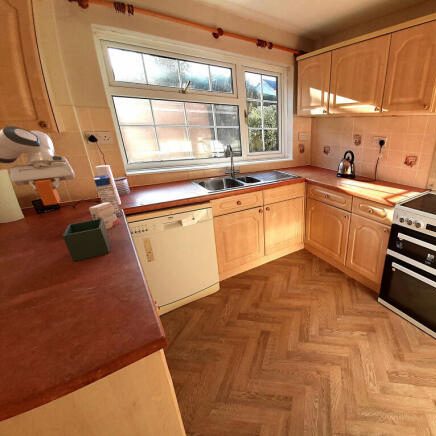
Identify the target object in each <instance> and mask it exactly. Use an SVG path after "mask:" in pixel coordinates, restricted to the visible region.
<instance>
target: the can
mask: <svg viewBox="0 0 436 436" xmlns="http://www.w3.org/2000/svg"><path fill="white" fill-rule="evenodd" d="M114 182H115V185H116V188H117V191H118V195H119V197H121V196H125V195H126V196H127V195H129V194H131V189H130V186H129V183H128V180H127V176H122V177H121V176H120V177H115V178H114Z"/></svg>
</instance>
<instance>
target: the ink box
mask: <svg viewBox="0 0 436 436" xmlns="http://www.w3.org/2000/svg"><path fill="white" fill-rule="evenodd" d="M88 210H89V213H90V215H91V218H92V220H95V219H101V218H103V220H104V223H105V226H106V229H107V230H109V229H111V228H113V227H115V226H118V225H119V224H120V223H119V222H120V221H119V220H118V217H116V214H115V211H114V209H113V206H112V203H109V202H106V203H102V202H101V203H99V204H97V205H93V206H90V207H88Z"/></svg>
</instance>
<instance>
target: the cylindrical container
mask: <svg viewBox="0 0 436 436" xmlns="http://www.w3.org/2000/svg"><path fill="white" fill-rule="evenodd" d="M95 171H96V173H97V176H103V175H109V177H110V180H111V183H112V186H113V189H114V192H115V196H116V199H117V202H118V205H119V206H120V205H122V201H121V198H120V196H119V195H118V191H117V188H116V185H115V182H114V179H115V178H114V176H113V172H112V169H111V166H110V165H109V164H103V165H96V166H95Z"/></svg>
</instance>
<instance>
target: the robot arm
mask: <svg viewBox="0 0 436 436" xmlns="http://www.w3.org/2000/svg"><path fill="white" fill-rule="evenodd" d="M23 154H24V155H26V156H27V164H21V165H20V164H19V165H14V166H12V167H10V169H9V172H10V178H9V180H10V181H11V183H12V184H14V185H15V186H29V185H30V186H31V187H32V188H33V191H34V192H36V193H37V192H38V190H37V188H36V185H35V182H36V181H38V180H45V179H52V180H53V183H54V184H52V188H53V189H56V190H58V189H59V185H60V184H61V182H62V181H71V180H75V178H76V173H75V171H74V169H73V168H72V166H71V165H70V162H69V161H68V159H67V158H66V157H65V156H61V155H55V147H54V144H53V141H52V139H51V137H50V136H49V135H48V134H47V133H45V132H44V131H40V130H28V129H25V128H22V127H19V126H15V125H6V126H4V127H3V128H1V129H0V164H12V163H15V162H16V161H17V160H18V158H20V156H22V155H23Z"/></svg>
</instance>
